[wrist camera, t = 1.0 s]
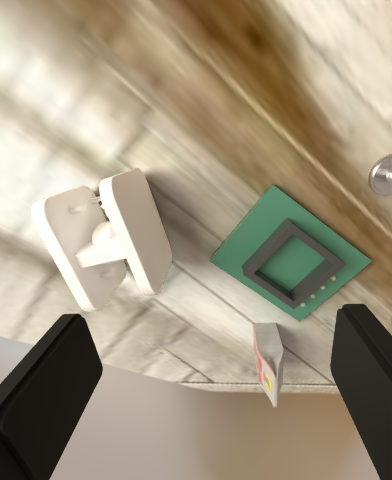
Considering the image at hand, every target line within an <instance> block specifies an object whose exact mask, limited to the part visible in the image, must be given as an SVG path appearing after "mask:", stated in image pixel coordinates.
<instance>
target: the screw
mask: <svg viewBox="0 0 392 480" xmlns="http://www.w3.org/2000/svg"><path fill="white" fill-rule="evenodd" d="M369 185H370V187H371V189H372V190H373V191H374V192H376V193H378V194H382V195H392V154H389V155H386V156H384V157H383V158H381V159H380V160H378V161H377V162H376V163H375V164H374V166H373V167H372V169H371V171H370V174H369Z"/></svg>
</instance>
